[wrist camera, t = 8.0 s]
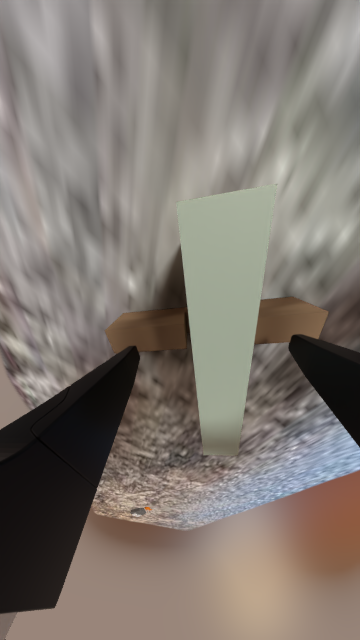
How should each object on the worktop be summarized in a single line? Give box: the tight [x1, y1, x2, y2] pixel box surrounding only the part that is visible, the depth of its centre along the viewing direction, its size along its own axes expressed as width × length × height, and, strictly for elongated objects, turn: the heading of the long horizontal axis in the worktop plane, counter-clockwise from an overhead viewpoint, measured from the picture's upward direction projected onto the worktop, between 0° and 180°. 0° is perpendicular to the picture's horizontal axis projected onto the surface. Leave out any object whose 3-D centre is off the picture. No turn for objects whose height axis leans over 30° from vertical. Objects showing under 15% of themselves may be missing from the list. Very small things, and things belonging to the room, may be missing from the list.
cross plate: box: [176, 184, 277, 456], centre depth 8 cm, size 12×2×7 cm, turn 7°
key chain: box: [130, 507, 156, 517], centre depth 44 cm, size 13×4×2 cm, turn 139°
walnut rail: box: [105, 297, 329, 353], centre depth 10 cm, size 14×2×3 cm, turn 97°
